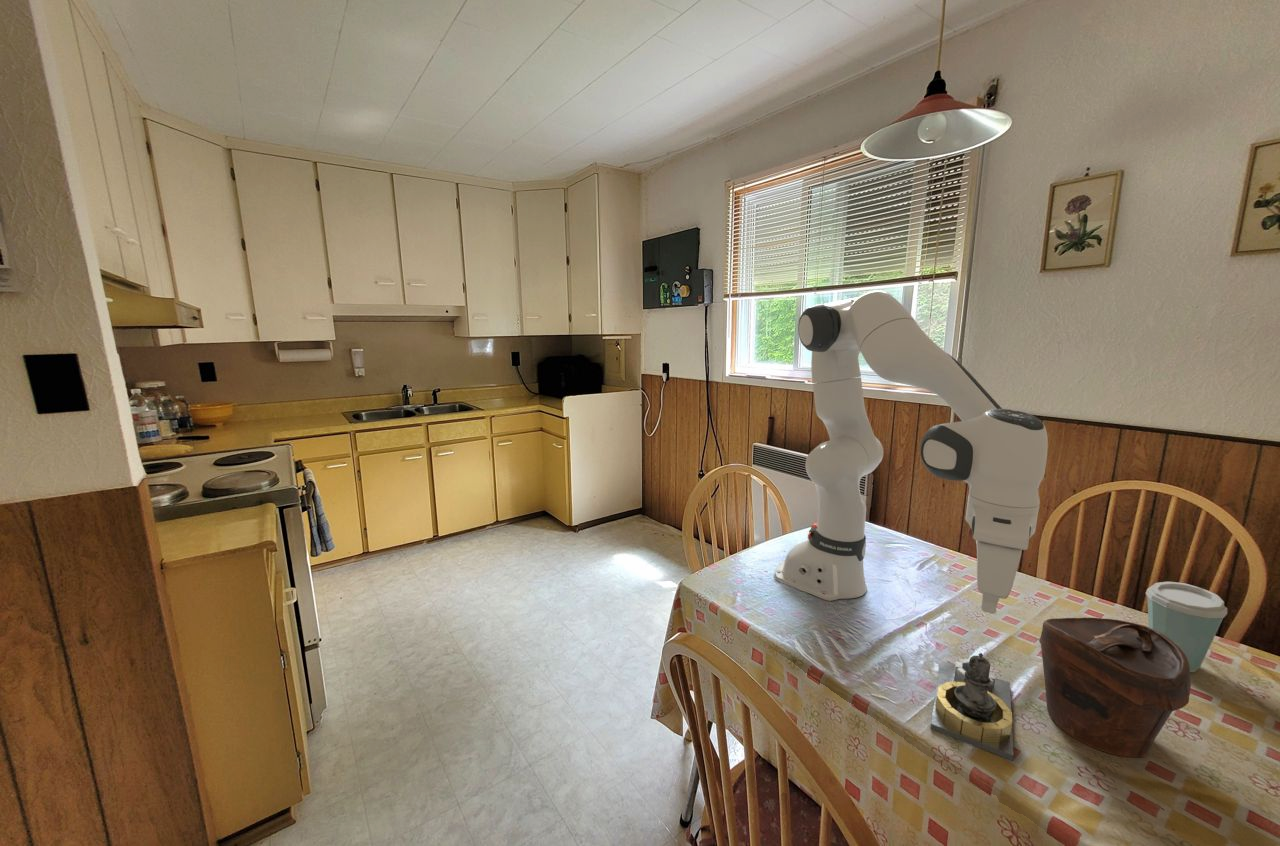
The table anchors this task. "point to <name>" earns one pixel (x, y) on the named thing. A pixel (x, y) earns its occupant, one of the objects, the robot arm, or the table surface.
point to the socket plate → (968, 730)
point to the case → (1112, 681)
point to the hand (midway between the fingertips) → (988, 596)
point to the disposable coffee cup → (1186, 617)
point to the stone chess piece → (976, 691)
